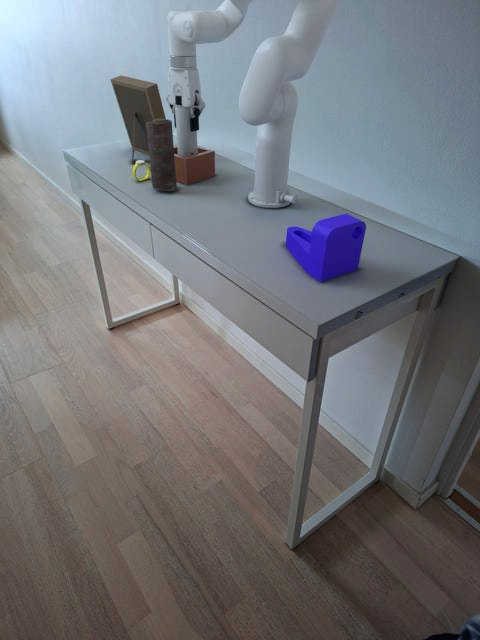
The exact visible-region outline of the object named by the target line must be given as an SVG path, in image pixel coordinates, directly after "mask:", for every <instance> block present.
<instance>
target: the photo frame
mask: <svg viewBox="0 0 480 640" xmlns="http://www.w3.org/2000/svg"><path fill="white" fill-rule="evenodd" d="M110 83H111V86H112V89H113V92H114V95H115V99H116V101H117V106H118V109H119V111H120V115H121V118H122V122H123V124H124V127H125V130H126V133H127V136H128V140H129V143H130V146H131V149H132V152H131V153H132V154H131V164H132V165H133V164H134V158H135V157H134V156H135V152H134V151H137V152H139V153H142V154H144V155H147V156H149V146H148V137H147V127H146V122H150V121H154V120H155V119H158V118H159V119H167V118H166V113H165V110H164V107H163V102H162V97H161V94H160V89H159V86H158V83H156V82H152V81H148V80H147V81H146V80H143V79H139V78H135V77H130V76H125V75H122V74H121V75H118V76H115V77H112V78H110Z"/></svg>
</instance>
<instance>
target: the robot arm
mask: <svg viewBox="0 0 480 640" xmlns="http://www.w3.org/2000/svg"><path fill="white" fill-rule="evenodd" d="M253 1H254V0H224V1H223V2H222V3H221V4H220V5H219V6H218V7H217V8H216V9H201V10H196V9H195V10H171V11H169V12H168V13H167V18H166V19H167V21H166V22H167V36H168V50H169V58H168V59H169V64H170V66H169V67H168V73H167V96H166V99H165V100H166V103H167V104H168V105H169V108H170V109H171V113H172V114H173V121H174V123H173V124H174V128H175V129H176V115H175V102H176V101H175V96H182V102H181V103H182V106H183V107H186V108H189V110H190V114H191V117H190V130H191V132H194V131H197V132H198V131H199V130H200V117H201V114H202V113H203V110H204V109H205V108H206V103H205V101H204V100H203V98H202V90H201V89H202V88H201V80H200V73H199V69H198V67H197V45H205V44H215V43H217V44H218V43H221V42H223V41H225V40H226V39H228V38H229V37H230V36H231V35H232V34H233V33H234V32H235V31H236V30H237V29H238V28H239V27H240V26H241V25H242V24H243V22H244V20H245V18H246V15H247V13H248V9H249V5H251V3H252V2H253ZM341 1H342V0H300V1H299V2H298V3H297V5H296V7H295V8H294V11H293V13H292V16H291V19H290V21H289V24H288V25H287V28H286V30H285V31H284V33H283V34H282V35H275V36H271V37H268V38H266V39H265V40H263V41H262V42H261V43H260V44H259V46H258V47H257V48H256V51H255V52H254V55H253V57H252V59H251V62H250V64H249V67H248V69H247V73H246V76H245V78H244V81H243V83H242V87H241V90H240V93H239V96H238V105H237V107H238V112H239V115H240V117H241V119H242V121H243V122H245V123H246V124H247V125H250V126H258V127H257V131H256V136H255V137H256V138H255V152H254V153H255V154H254V177H253V191H251V192H250V193H249V194H248V196H247V200H248V202H249V203H250V204H251V205H253V206H256V207H259V208H264V209H279V208H284V207H287V206H288V205H290V204H292V205H294V204H295V203H296V201H297V198H298V195H297V194H296V193H293V192H291V186H288V180H289V169H290V168H289V167H290V157H291V148H292V147H291V146H292V136H293V130H294V124H295V120H296V116H297V115H296V114H297V111H298V108H299V107H298V105H299V95H298V91H297V89H296V86H294V84H292V81H296V80H300V79H303V77H304V76H306V75H307V73H308V72H309V71H310V69H311V66H312V65H313V61H314V59H315V57H316V54H317V53H318V51H319V49H320V46H321V45H322V42H323V40H324V37H325V36H326V33H327V31H328V28H329V26H330V24H331V22H332V20H333V18H334V16H335V14H336V12H337V11H338V8H339V6H340V3H341ZM194 103H195V105H194ZM193 108H195V111H194V110H193Z"/></svg>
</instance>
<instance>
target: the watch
mask: <svg viewBox="0 0 480 640" xmlns="http://www.w3.org/2000/svg"><path fill="white" fill-rule="evenodd" d="M143 165H145V167H146V170H147V171H146V172H147V173H146V175H145V176H144V177H142V178H138V177H137V175H136V172H137V169H138V167H139V166H143ZM131 172H132V173H131V174H132V177H133V179H134V180H136V181H137V182H143V181H146V180H148V179H149V178H150V177H151V168H150V164H149V163H147V162H145V160H143V159H139V160H136V161H135V164H134V165H133V166H132V169H131Z"/></svg>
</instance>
